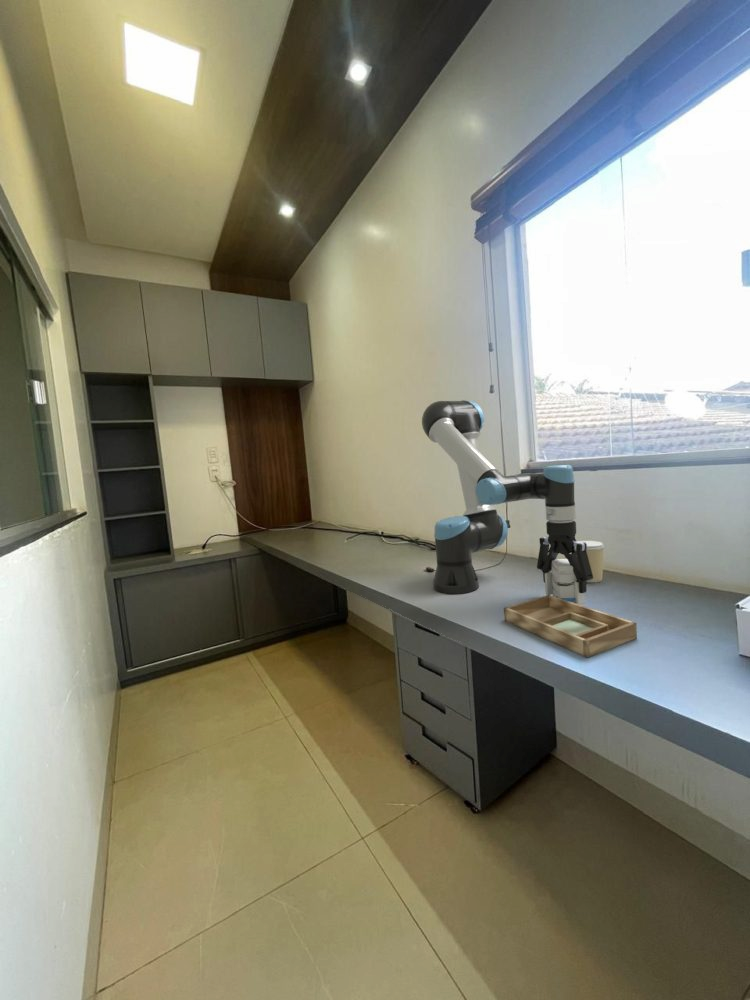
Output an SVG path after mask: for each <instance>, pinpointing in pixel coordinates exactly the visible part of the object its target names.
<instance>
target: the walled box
mask: <svg viewBox="0 0 750 1000" xmlns="http://www.w3.org/2000/svg"><path fill="white" fill-rule="evenodd" d="M503 614H504V621H505V622H506V623H509V624H510V625H513V626H515V627H518V628H519V629H522V630H524V631H526V632H529V633H531V634H533V635H535V636H538V637H540V638H542V639H544V640H546V641H548V642H551V643H553V644H555V645H558V646H560V647H562V648H564V649H566V650H568V651H571V652H573V653H575V654H578V655H579V654H580V656H582V657H583V658H586V659H588V658H590V657H594V656H596V655H598V654H601V653H604V652H606V651H608V650H610V649H613V648H616V647H618V646H621V645H623V644H627V643H629V642H631V641H634V640H636V639H637V638H638V634H637V633H638V631H637V627H638V626H637V622H634V621H632V620H629V619H625V618H621V617H619V616H616V615H613V614H609V613H606V612H603V611H600V610H596V609H594V608H591V607H588V606H584V605H583V604H580V605H579V604H575V603H572V602H569V601H566V600H563V599H560V598H557V597H554V596H553V595H544V596H540V597H537V598H533V599H531V600H525V601H523V602H519V603H516V604H513V605H509V606H506V607H503Z"/></svg>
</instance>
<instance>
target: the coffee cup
mask: <svg viewBox="0 0 750 1000" xmlns="http://www.w3.org/2000/svg"><path fill="white" fill-rule="evenodd" d="M576 541H577V542H579V543H584V542H585V543H586V544H587V549H586V552H587V555H588V559H589V563H590V567H591V571H592V574H593V579H591V580H588V581H586V583H600V582H602V581H603V572H604V549H605V545H604V543H603V542H602V541H597V540H576ZM574 548H575V547H574Z"/></svg>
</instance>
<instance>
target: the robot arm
mask: <svg viewBox="0 0 750 1000" xmlns="http://www.w3.org/2000/svg"><path fill="white" fill-rule="evenodd" d="M484 422H485V415H484V412H483V410H482V407H481V406H480V405H479V404H477V403H476V402H474V401H470V400H469V401H468V400H466V399H465V400H463V399H462V400H437V401H435V402H432V403H430V404H429V405H428V406H427V407H426V408H425V410H424V411H423V413H422V416H421V426H422V430H423V432H424V434H425V436H427V438H429V440H430V441H431V442H433V443H437V444H438V445H439V446H440V448H442V450H443V451H444V452H445V453H446V454H447V455H448V456H449V457H450V458H451V459H452V461H453V462H454V463H455V464H456V465H457V470H458V476H459V480H460V485H461V490H462V495H463V499H464V500H463V501H464V505H465V511H464V513H463V514H462V515H461V516H460V515H455V516H450V517H446V518H443V519H440V520H438V521H437V522H435V525H434V534H433V536H434V537H433V538H434V540H435V541H434V542H435V544H434V545H435V554H436V555H435V556H436V569H435V572H434V578H433V580H432V585H433V589H434V590H435V591H436V592H439V593H443V594H449V595H450V594H452V595H453V594H455V595H457V594H460V595H461V594H466V593H467V594H468V593H472V592H474V591H476V590H478V589H479V587H480V582H479V578H478V575H477V573H476V571H475V568H474V566H473V559H472V554H473V553H478V552H482V551H486V550H487V551H488V550H494V549H495V548H498V547H500V546H502V545H503V544H504V543H505V541H506V540H507V537H508V533H509V529H508V523H507V521H506V520H505V518H504V517H503V516H502V515H500V514H498V511H497V508H496V507H494V505H497V506H498V505H500V504H505V503H510V502H517V501H524V500H530V499H533V500H534V499H535V500H538V499H539V500H544V503H545V518H546V521H547V522H546V523H545V524H546V525H545V526H546V527H545V528H546V534H547V536H544V537H539V552H538V556H537V557H538V558H537V562H536V563H537V565H536V568H537V570H540V571H541V572H542V575H543V577H542V578H543V582H544V585H545V589H544V590H545V596H547V595H550V596H553V594H552V568H551V564H552V560H555V559H558V558H557V557H558V555H559V554H561V555H562V556H564V557H565V558H564V559H568V561H569V563H570V566H573V572H574V574H575V576H576V578H577V580H576V581H574V582H575V603H576V604H579V605H583V604H585V603H586V596H585V593H587V591H588V590H587V582H586V581H588V580H591V579H593V574H592V571H591V567H590V563H589V559H588V555H587V552H586V549H587V544H586V543H585V542H584V543H579V542H577V541H578V540H576V534H577V522H576V521H575V520H576V519H577V513H576V501H575V477H574V469H573V466H571V465H570V464H561V465H560V464H559V465H547V466H545V467H543V472H542V473H538V472H537V473H535V472H534V473H525V472H523V473H517V474H516V473H515V474H514V475H505V476H504V475H503V474H502V473H501V472H500V471H499V470H498V469H497V468H496V467H495V466H494V465H493V464H492V463H491V462H490V461H489V460H488V459H487V458H486V457H485V456H484V455H483V453H481V452H480V447H479V443H478V439H479V437H480V435H481V430H482V428H483V427H484V424H483V423H484ZM574 547H575V548H574Z"/></svg>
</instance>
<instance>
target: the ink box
mask: <svg viewBox="0 0 750 1000" xmlns="http://www.w3.org/2000/svg"><path fill="white" fill-rule="evenodd" d="M551 568H552V571H551V572H552V596H554V597H557V598H560V599H563V600H566V601H569V602H572V603H575V582H574V581H576V580H577V578H576V576H575V574H574V572H573V566H570V563H569V561H568V559H567V558H556V559H555V560H552V564H551ZM575 604H576V603H575Z"/></svg>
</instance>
